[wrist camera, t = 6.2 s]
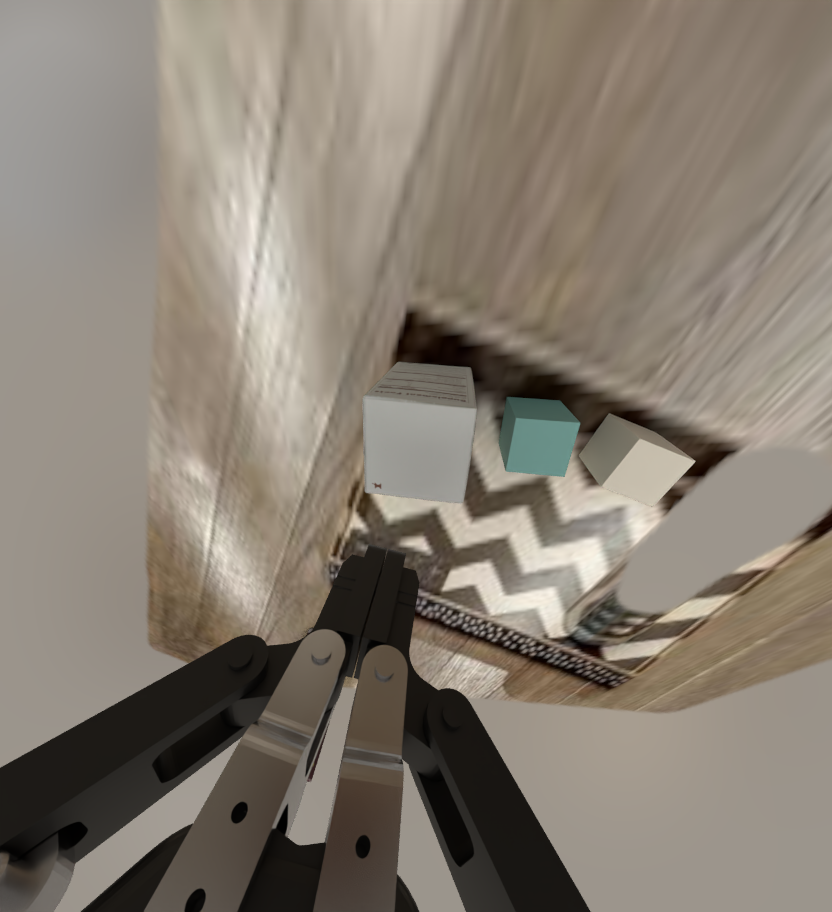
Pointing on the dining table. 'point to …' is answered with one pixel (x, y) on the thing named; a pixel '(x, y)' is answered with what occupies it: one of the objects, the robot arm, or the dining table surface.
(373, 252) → the dining table surface
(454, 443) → the supplement box
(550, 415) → the teal block
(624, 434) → the cream block
